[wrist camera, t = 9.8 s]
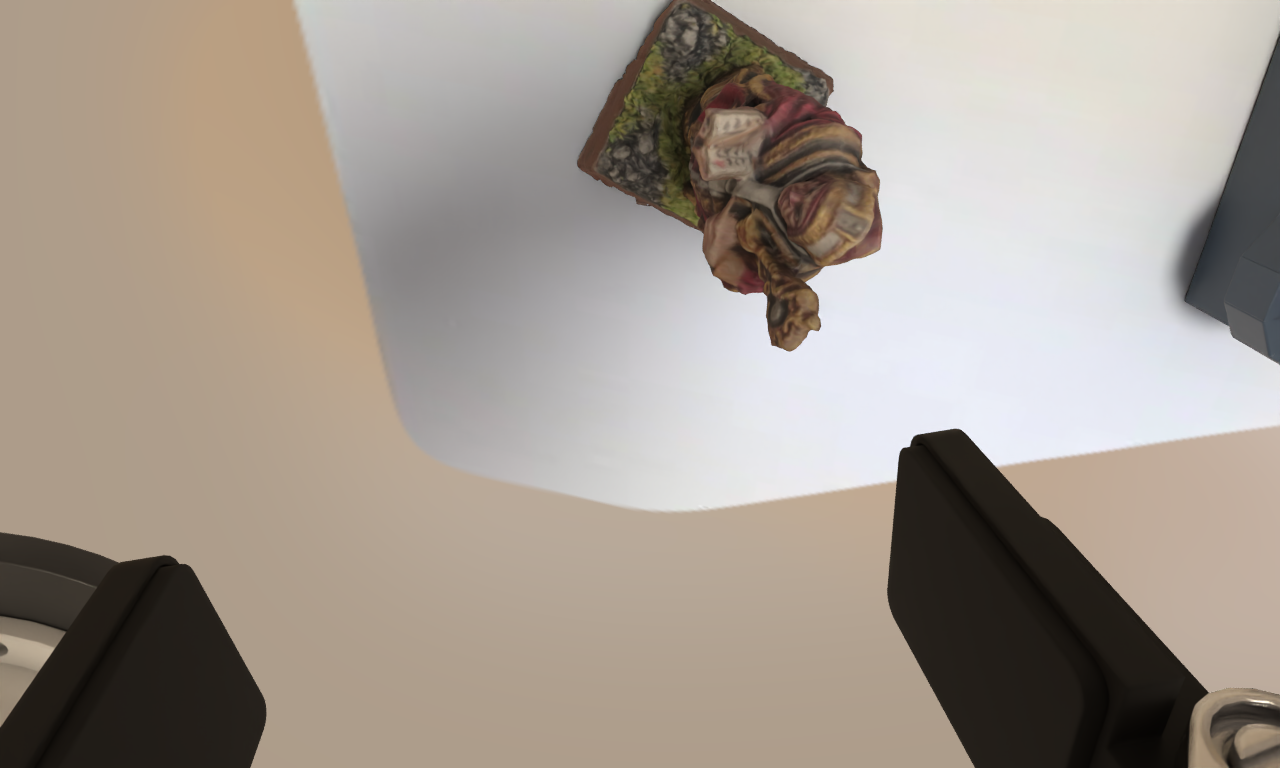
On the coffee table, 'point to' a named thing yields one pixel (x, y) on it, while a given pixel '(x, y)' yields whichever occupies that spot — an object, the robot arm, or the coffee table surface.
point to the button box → (1248, 234)
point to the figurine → (740, 158)
